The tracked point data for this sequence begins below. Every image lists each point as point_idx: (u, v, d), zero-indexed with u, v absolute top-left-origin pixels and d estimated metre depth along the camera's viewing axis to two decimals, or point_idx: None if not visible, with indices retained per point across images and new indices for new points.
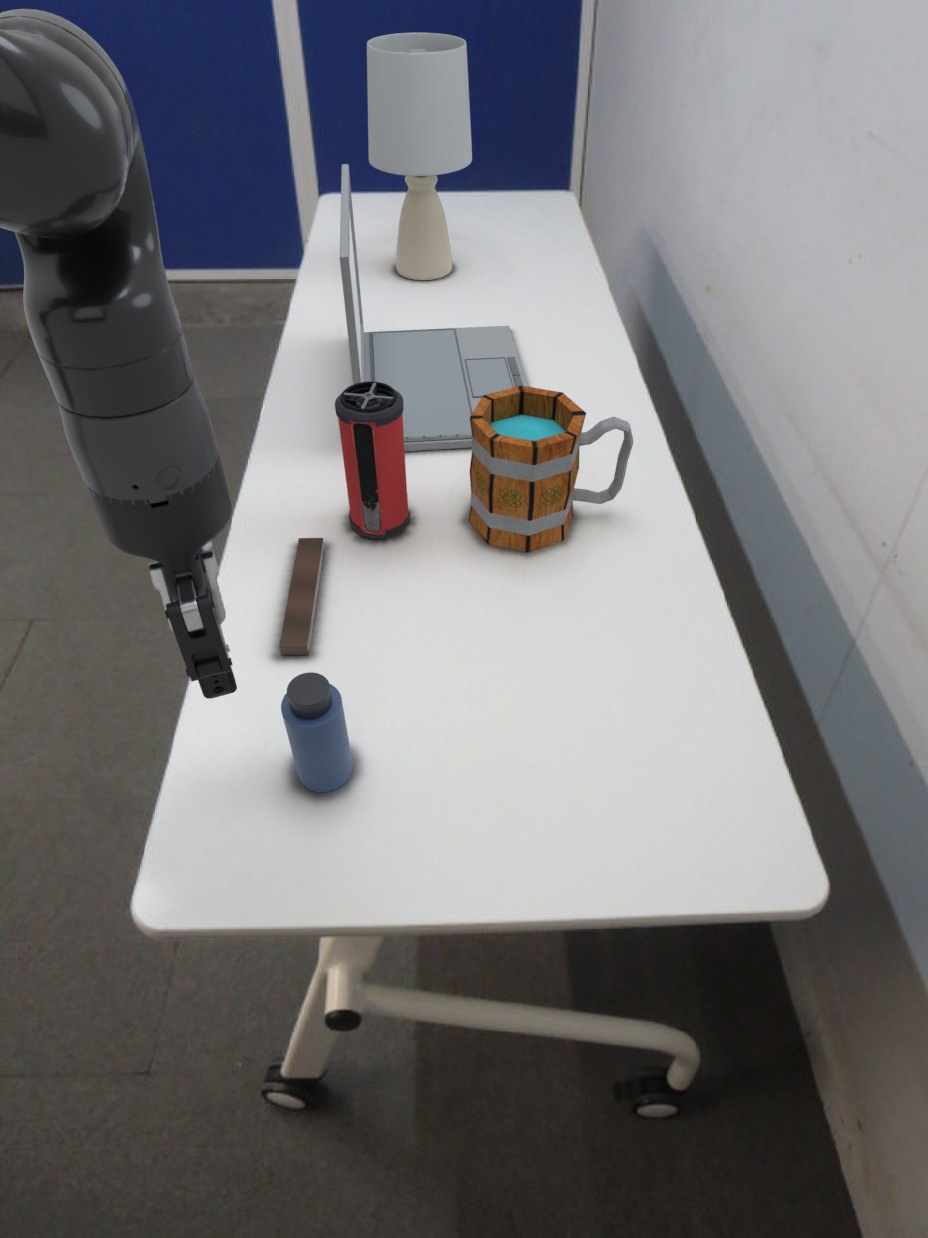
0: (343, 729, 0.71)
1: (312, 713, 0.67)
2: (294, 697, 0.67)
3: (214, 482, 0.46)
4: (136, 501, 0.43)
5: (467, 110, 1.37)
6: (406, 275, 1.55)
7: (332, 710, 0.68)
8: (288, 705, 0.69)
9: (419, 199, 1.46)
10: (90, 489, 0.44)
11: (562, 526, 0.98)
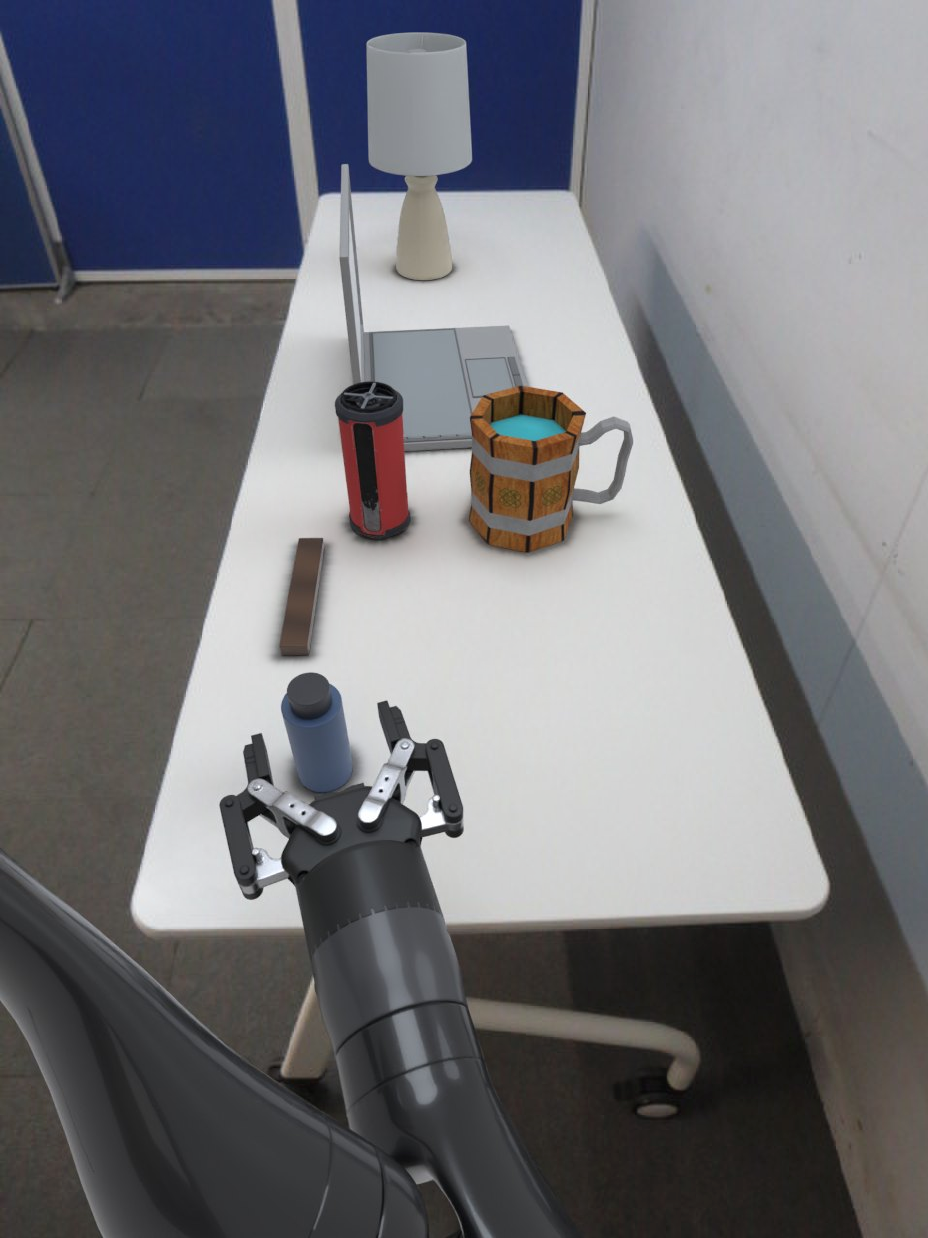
0: (343, 729, 0.71)
1: (312, 713, 0.67)
2: (294, 697, 0.67)
3: None
4: (311, 957, 0.42)
5: (467, 110, 1.37)
6: (406, 275, 1.55)
7: (332, 710, 0.68)
8: (288, 705, 0.69)
9: (419, 199, 1.46)
10: (342, 927, 0.41)
11: (562, 526, 0.98)
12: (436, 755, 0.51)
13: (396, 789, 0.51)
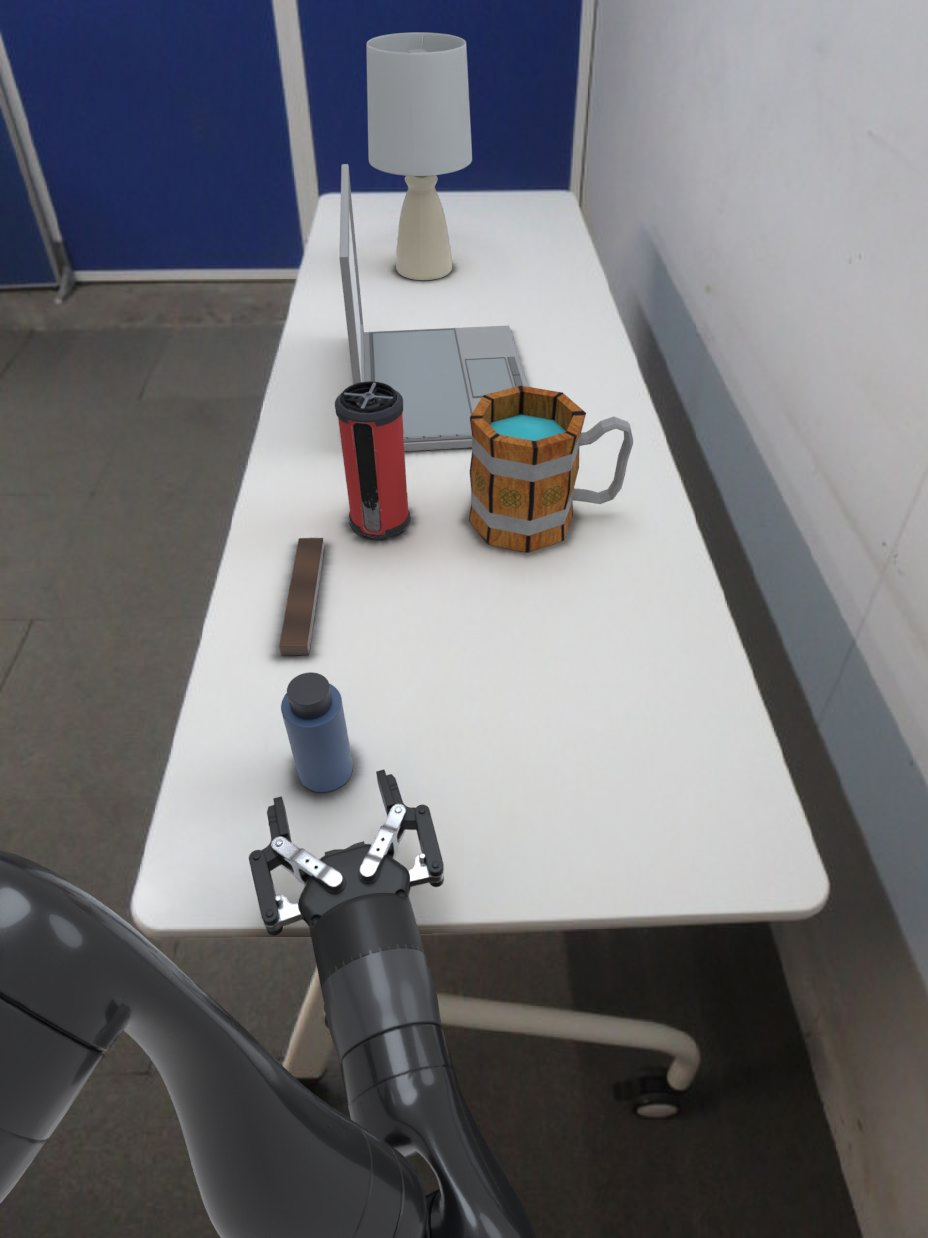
0: (343, 729, 0.71)
1: (312, 713, 0.67)
2: (294, 697, 0.67)
3: None
4: (322, 985, 0.54)
5: (467, 110, 1.37)
6: (406, 275, 1.55)
7: (332, 710, 0.68)
8: (288, 705, 0.69)
9: (419, 199, 1.46)
10: (346, 963, 0.53)
11: (562, 526, 0.98)
12: (423, 819, 0.63)
13: (390, 846, 0.63)
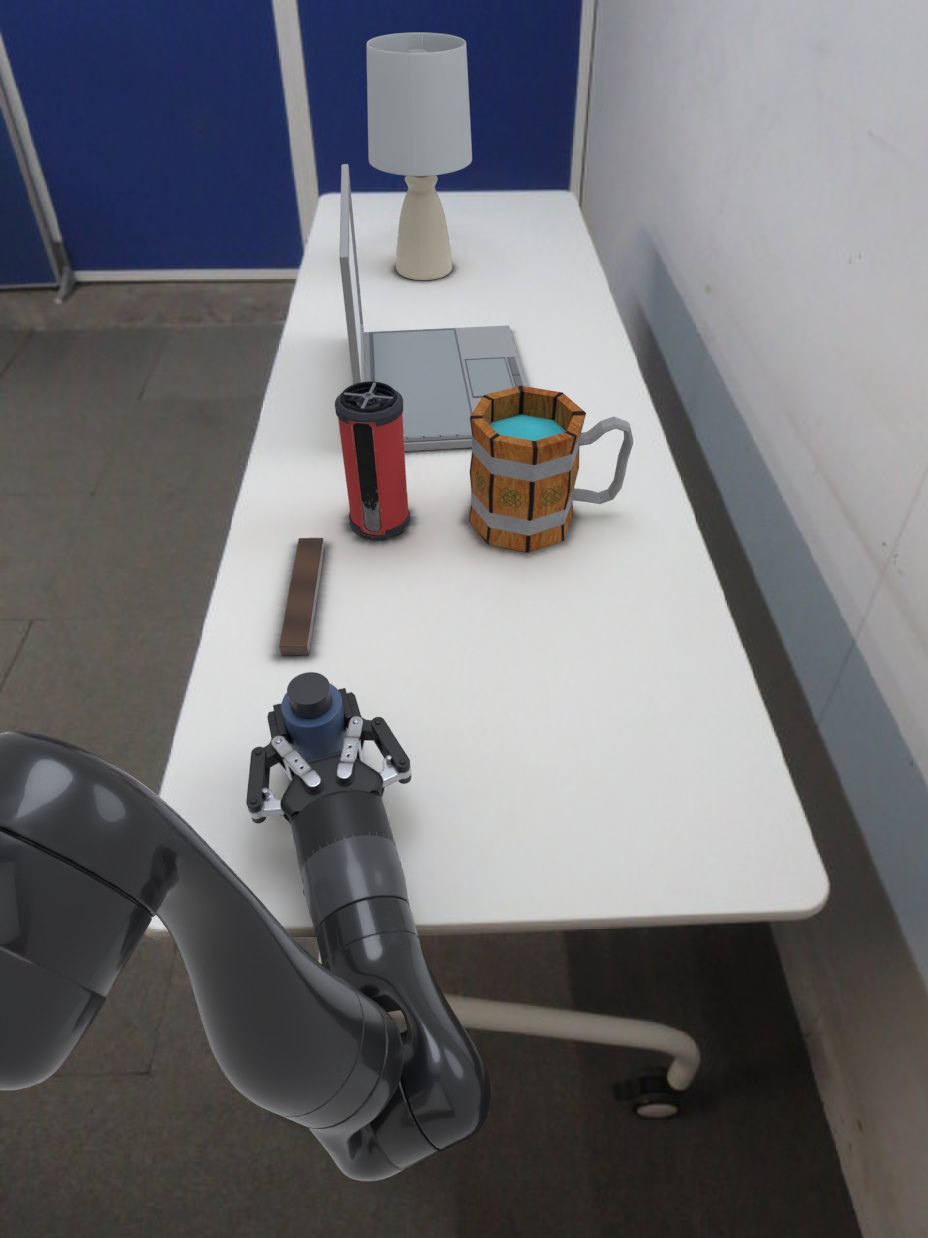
0: (343, 729, 0.71)
1: (312, 713, 0.67)
2: (294, 697, 0.67)
3: None
4: (301, 869, 0.60)
5: (467, 110, 1.37)
6: (406, 275, 1.55)
7: (332, 710, 0.68)
8: (288, 705, 0.69)
9: (419, 199, 1.46)
10: (322, 847, 0.59)
11: (562, 526, 0.98)
12: (381, 728, 0.69)
13: (356, 753, 0.69)
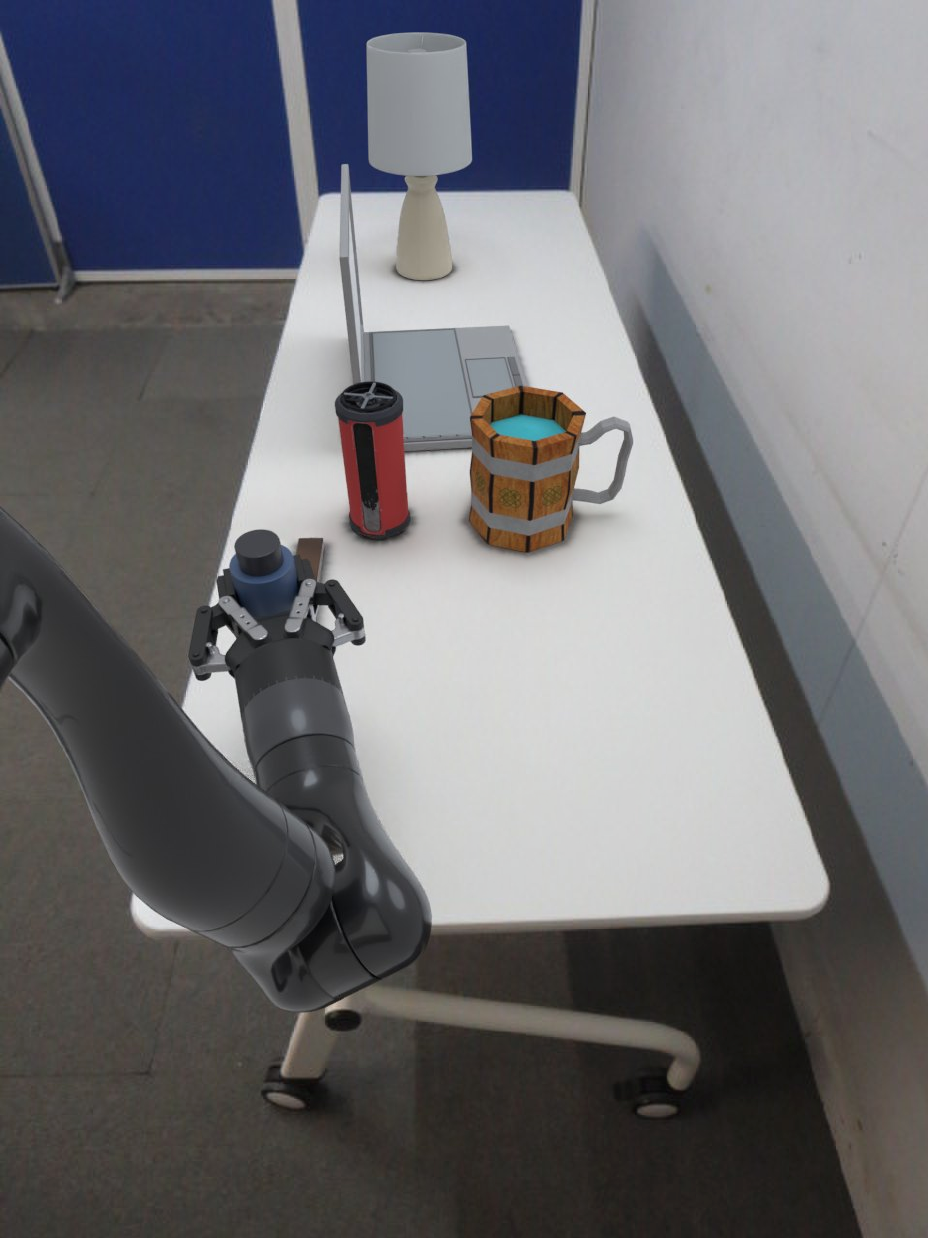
0: (296, 593, 0.67)
1: (261, 568, 0.64)
2: (241, 550, 0.63)
3: None
4: (241, 715, 0.57)
5: (467, 110, 1.37)
6: (406, 275, 1.55)
7: (283, 568, 0.65)
8: (237, 563, 0.65)
9: (419, 199, 1.46)
10: (263, 689, 0.56)
11: (562, 526, 0.98)
12: (334, 589, 0.66)
13: (308, 615, 0.65)
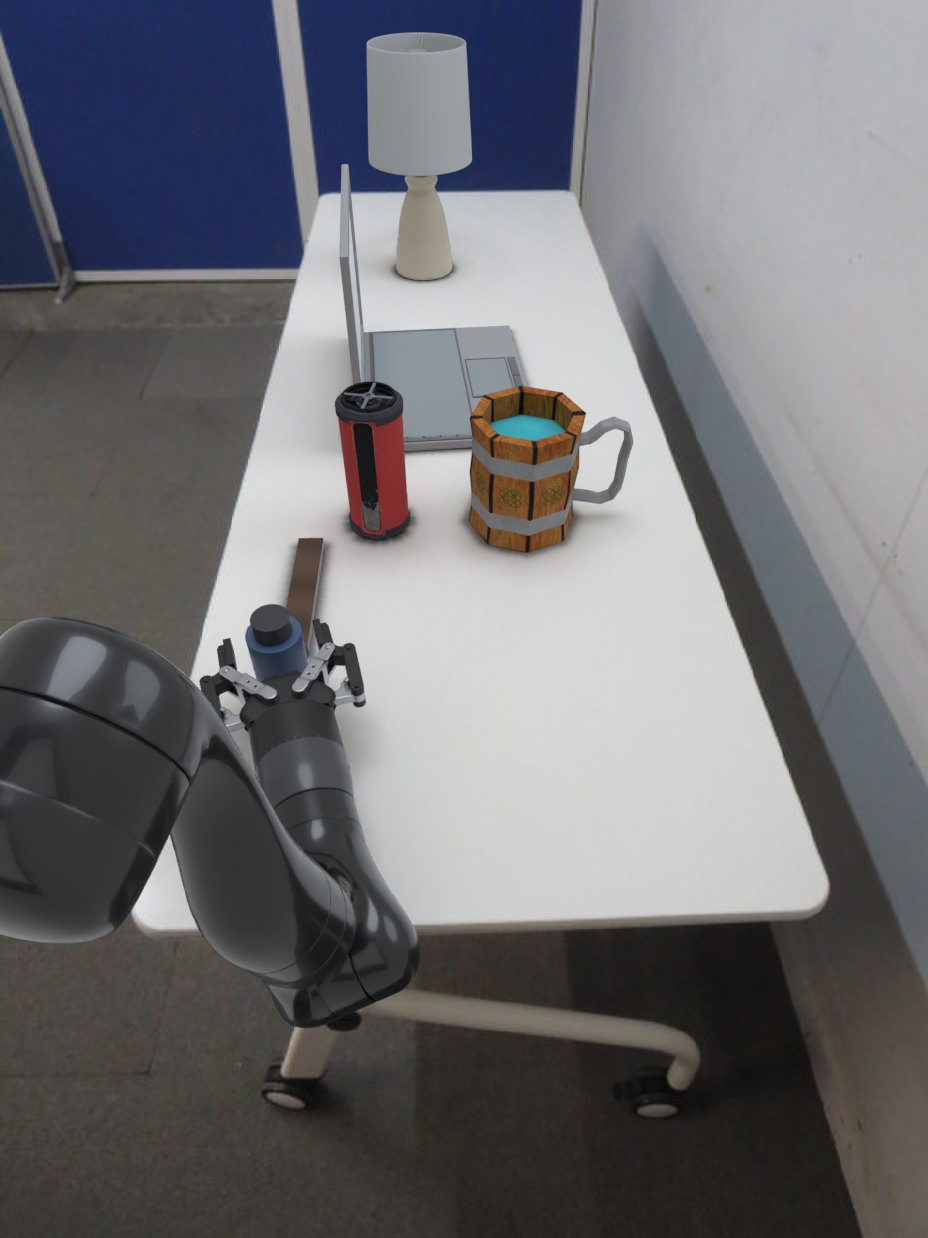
0: (303, 658, 0.76)
1: (273, 640, 0.73)
2: (256, 625, 0.73)
3: None
4: (255, 768, 0.65)
5: (467, 110, 1.37)
6: (406, 275, 1.55)
7: (292, 638, 0.74)
8: (252, 634, 0.75)
9: (419, 199, 1.46)
10: (274, 746, 0.64)
11: (562, 526, 0.98)
12: (349, 653, 0.74)
13: (321, 675, 0.74)
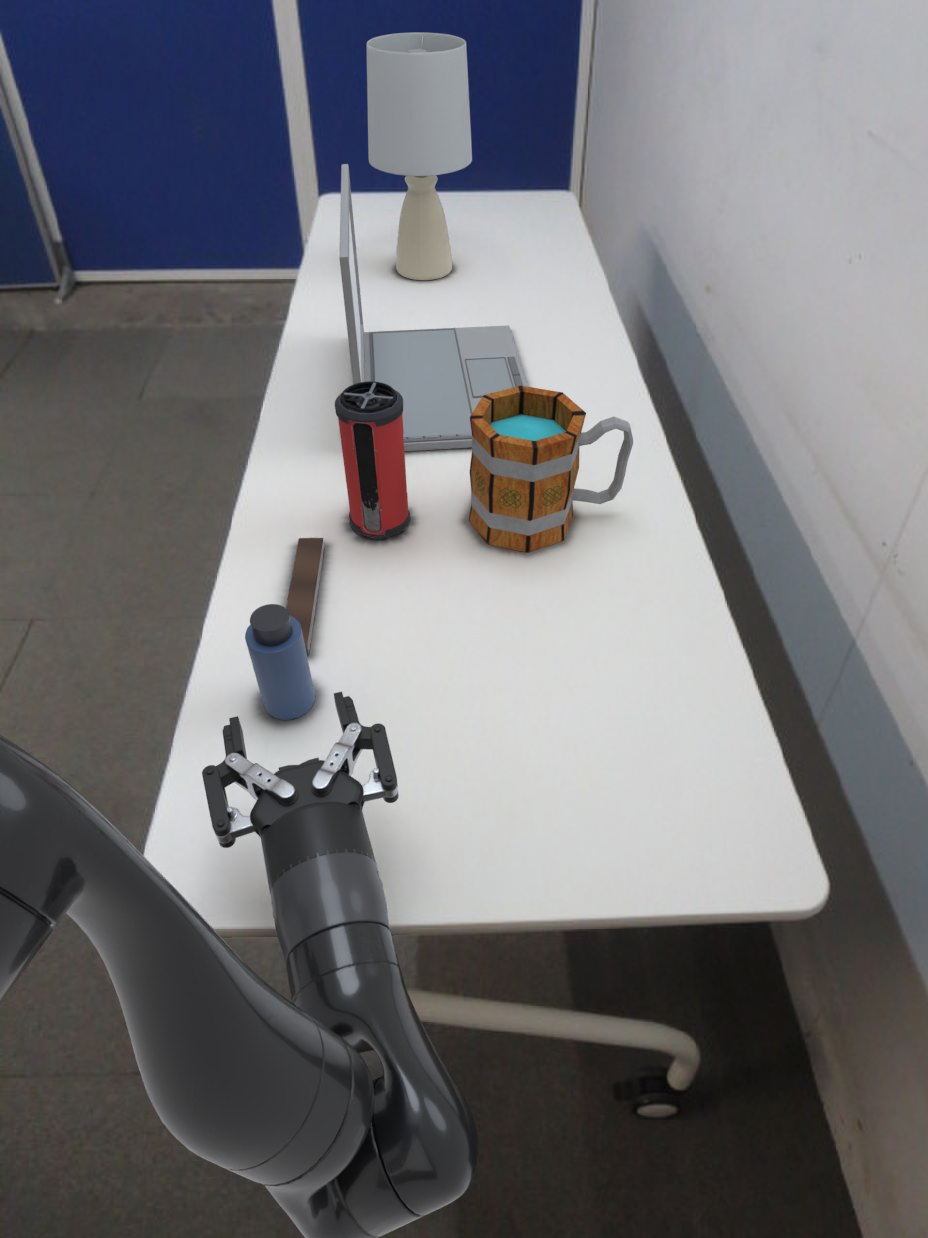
0: (303, 658, 0.76)
1: (273, 640, 0.73)
2: (256, 625, 0.73)
3: None
4: (270, 889, 0.54)
5: (467, 110, 1.37)
6: (406, 275, 1.55)
7: (292, 638, 0.74)
8: (252, 634, 0.75)
9: (419, 199, 1.46)
10: (294, 866, 0.53)
11: (562, 526, 0.98)
12: (378, 736, 0.63)
13: (345, 763, 0.63)
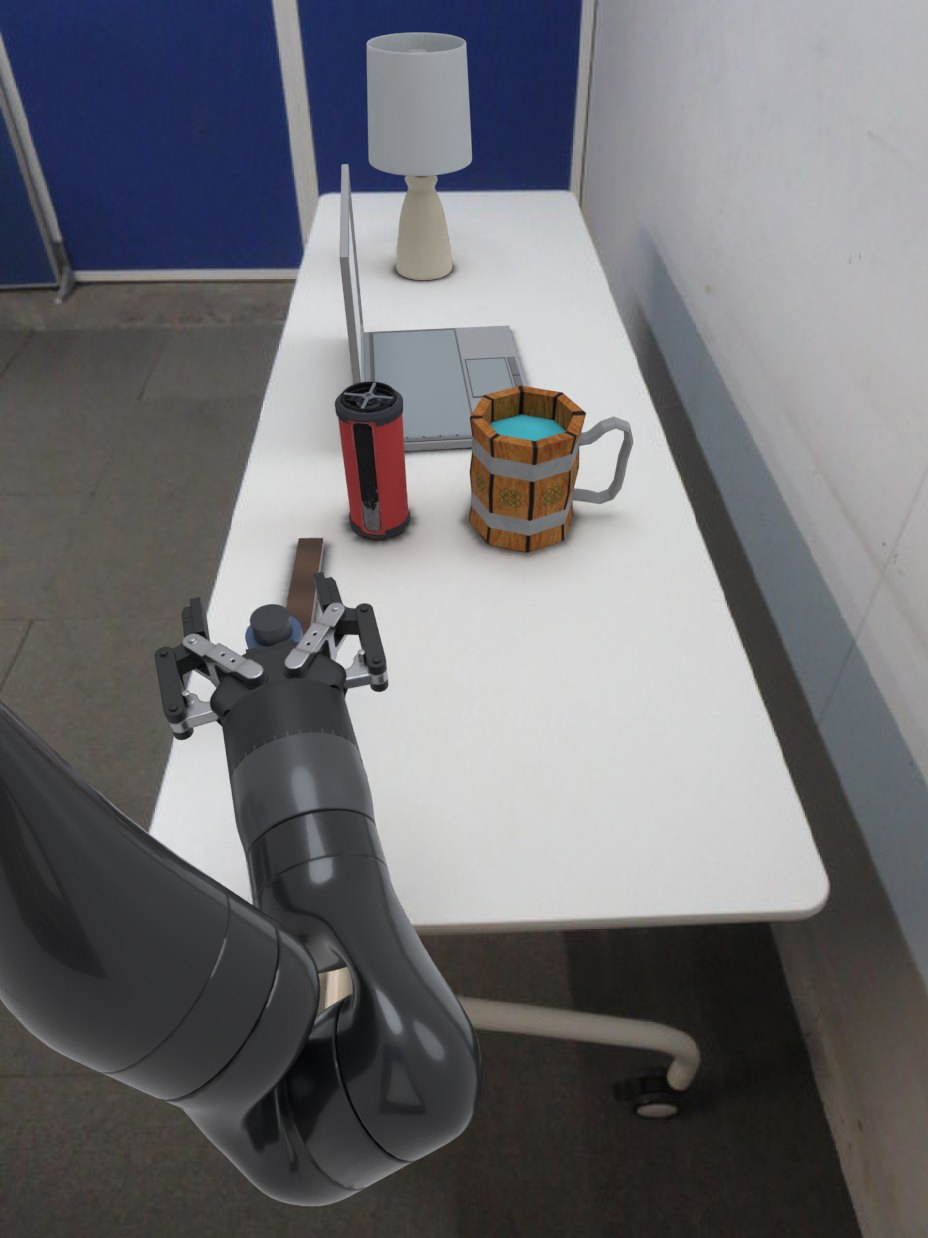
0: None
1: (273, 640, 0.73)
2: (256, 625, 0.73)
3: None
4: (230, 779, 0.45)
5: (467, 110, 1.37)
6: (406, 275, 1.55)
7: (292, 638, 0.74)
8: (252, 634, 0.75)
9: (419, 199, 1.46)
10: (258, 747, 0.43)
11: (562, 526, 0.98)
12: (365, 616, 0.53)
13: (325, 647, 0.53)
